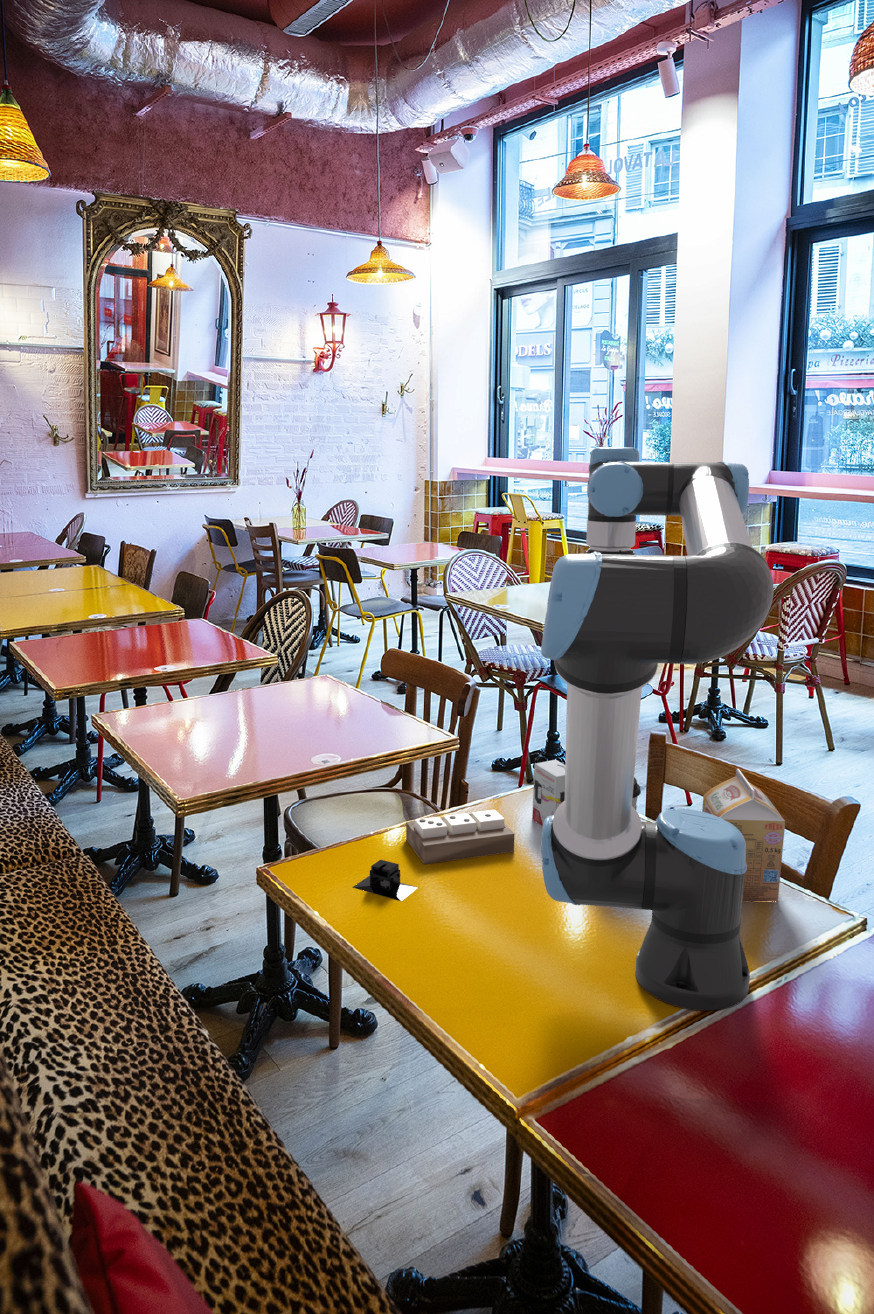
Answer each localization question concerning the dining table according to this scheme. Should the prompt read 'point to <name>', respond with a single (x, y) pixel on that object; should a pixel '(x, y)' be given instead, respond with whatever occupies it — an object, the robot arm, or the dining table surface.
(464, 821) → the tile two
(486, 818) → the tile one
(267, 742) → the dining table surface
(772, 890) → the milk carton
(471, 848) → the board
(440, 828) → the tile three
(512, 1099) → the dining table surface
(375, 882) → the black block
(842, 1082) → the dining table surface
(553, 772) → the ink box
